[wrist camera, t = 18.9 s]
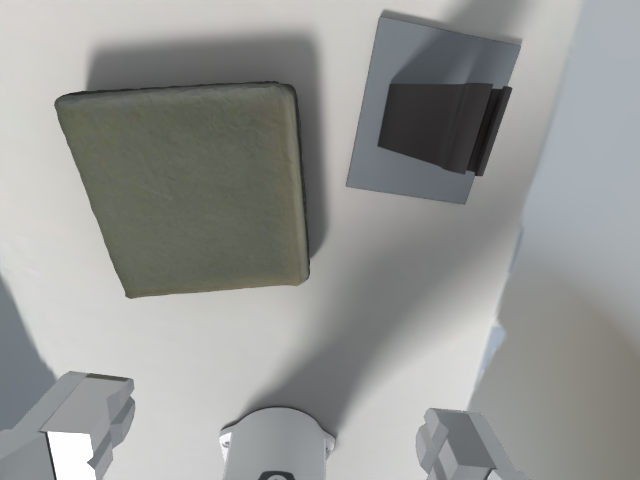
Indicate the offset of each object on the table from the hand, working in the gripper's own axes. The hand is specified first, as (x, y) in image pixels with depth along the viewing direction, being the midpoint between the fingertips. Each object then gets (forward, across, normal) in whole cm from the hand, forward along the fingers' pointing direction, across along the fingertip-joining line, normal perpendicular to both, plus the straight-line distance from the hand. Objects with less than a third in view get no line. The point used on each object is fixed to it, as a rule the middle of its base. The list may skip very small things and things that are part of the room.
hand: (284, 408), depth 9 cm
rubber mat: (+29, -12, -9) cm, 32 cm away
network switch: (+29, +10, +2) cm, 31 cm away
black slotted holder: (+28, -12, -9) cm, 32 cm away
